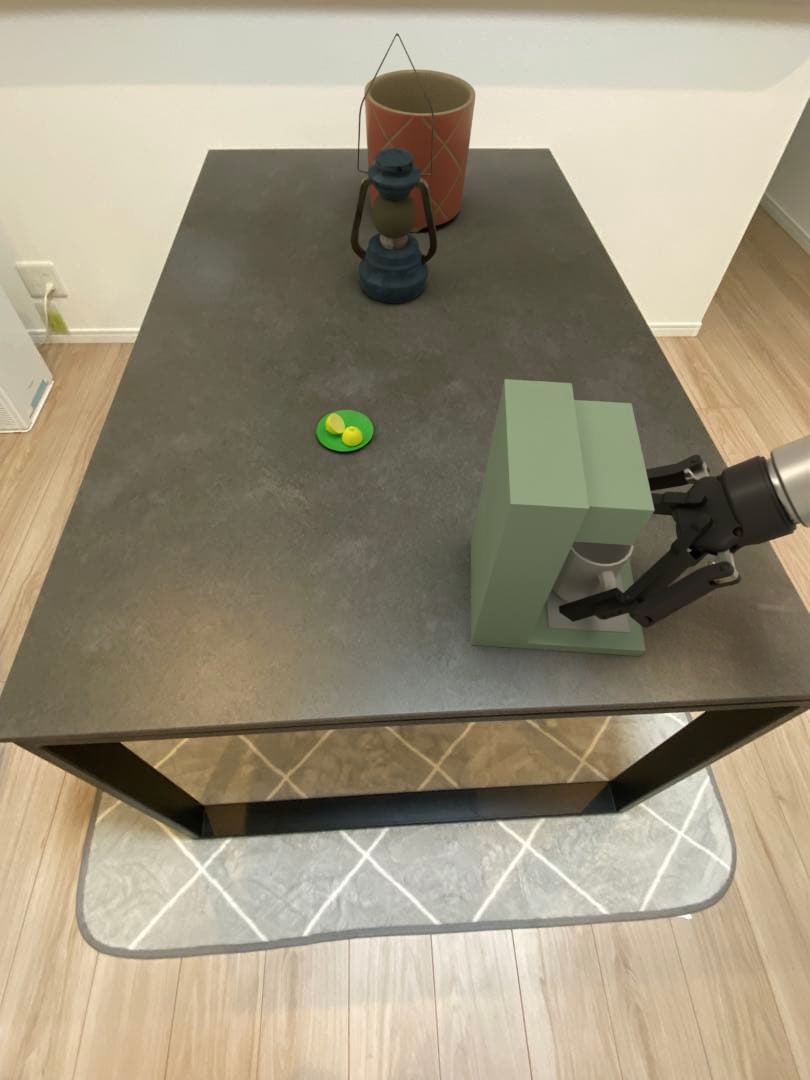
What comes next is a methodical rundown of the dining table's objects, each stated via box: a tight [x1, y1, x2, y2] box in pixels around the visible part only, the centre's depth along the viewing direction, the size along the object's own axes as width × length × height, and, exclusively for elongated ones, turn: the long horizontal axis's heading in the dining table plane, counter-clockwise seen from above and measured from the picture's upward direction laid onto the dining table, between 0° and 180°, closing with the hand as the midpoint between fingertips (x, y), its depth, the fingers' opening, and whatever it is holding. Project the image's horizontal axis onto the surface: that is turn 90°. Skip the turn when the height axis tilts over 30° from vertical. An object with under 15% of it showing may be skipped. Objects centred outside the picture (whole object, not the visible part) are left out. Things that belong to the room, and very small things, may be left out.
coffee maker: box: [470, 378, 655, 657], centre depth 60 cm, size 19×14×26 cm
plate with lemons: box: [315, 409, 374, 452], centre depth 84 cm, size 8×8×3 cm
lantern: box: [350, 33, 438, 304], centre depth 90 cm, size 14×12×35 cm
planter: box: [363, 69, 476, 234], centre depth 111 cm, size 19×19×20 cm
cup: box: [552, 542, 635, 603], centre depth 66 cm, size 7×10×9 cm
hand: (561, 570), depth 66 cm, fingers open, 10 cm apart
